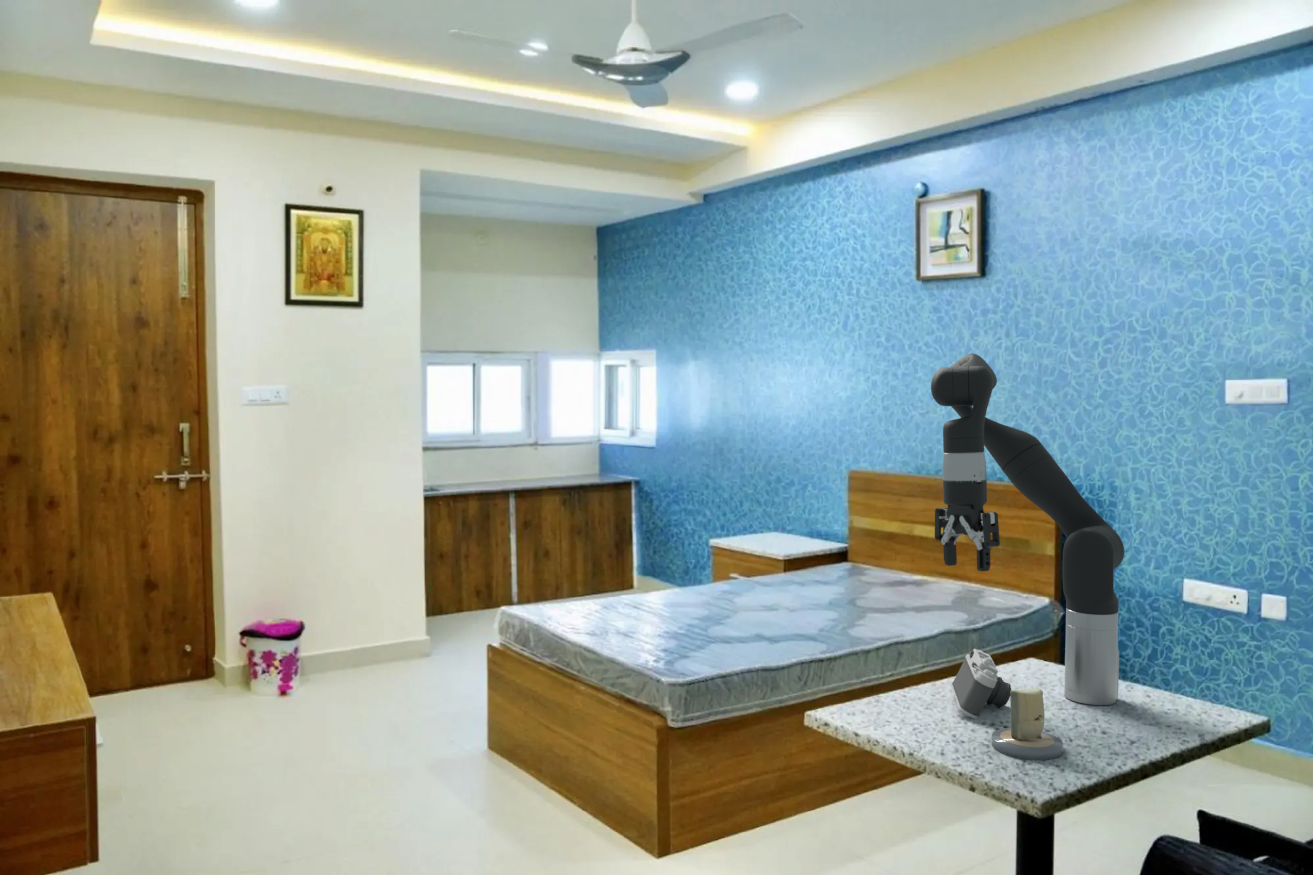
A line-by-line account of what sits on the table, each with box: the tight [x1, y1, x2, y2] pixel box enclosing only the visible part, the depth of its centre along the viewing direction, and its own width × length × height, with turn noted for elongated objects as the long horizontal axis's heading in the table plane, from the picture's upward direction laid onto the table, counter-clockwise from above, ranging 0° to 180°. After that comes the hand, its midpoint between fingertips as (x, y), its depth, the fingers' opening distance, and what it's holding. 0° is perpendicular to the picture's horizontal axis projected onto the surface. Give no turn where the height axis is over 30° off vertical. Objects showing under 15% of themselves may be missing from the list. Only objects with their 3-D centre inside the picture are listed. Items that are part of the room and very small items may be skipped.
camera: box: [950, 648, 1012, 720], centre depth 185 cm, size 9×16×10 cm, turn 171°
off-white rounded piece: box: [1009, 688, 1045, 741], centre depth 164 cm, size 6×5×8 cm
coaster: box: [991, 727, 1064, 761], centre depth 164 cm, size 11×11×2 cm
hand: (966, 567), depth 179 cm, fingers open, 8 cm apart
